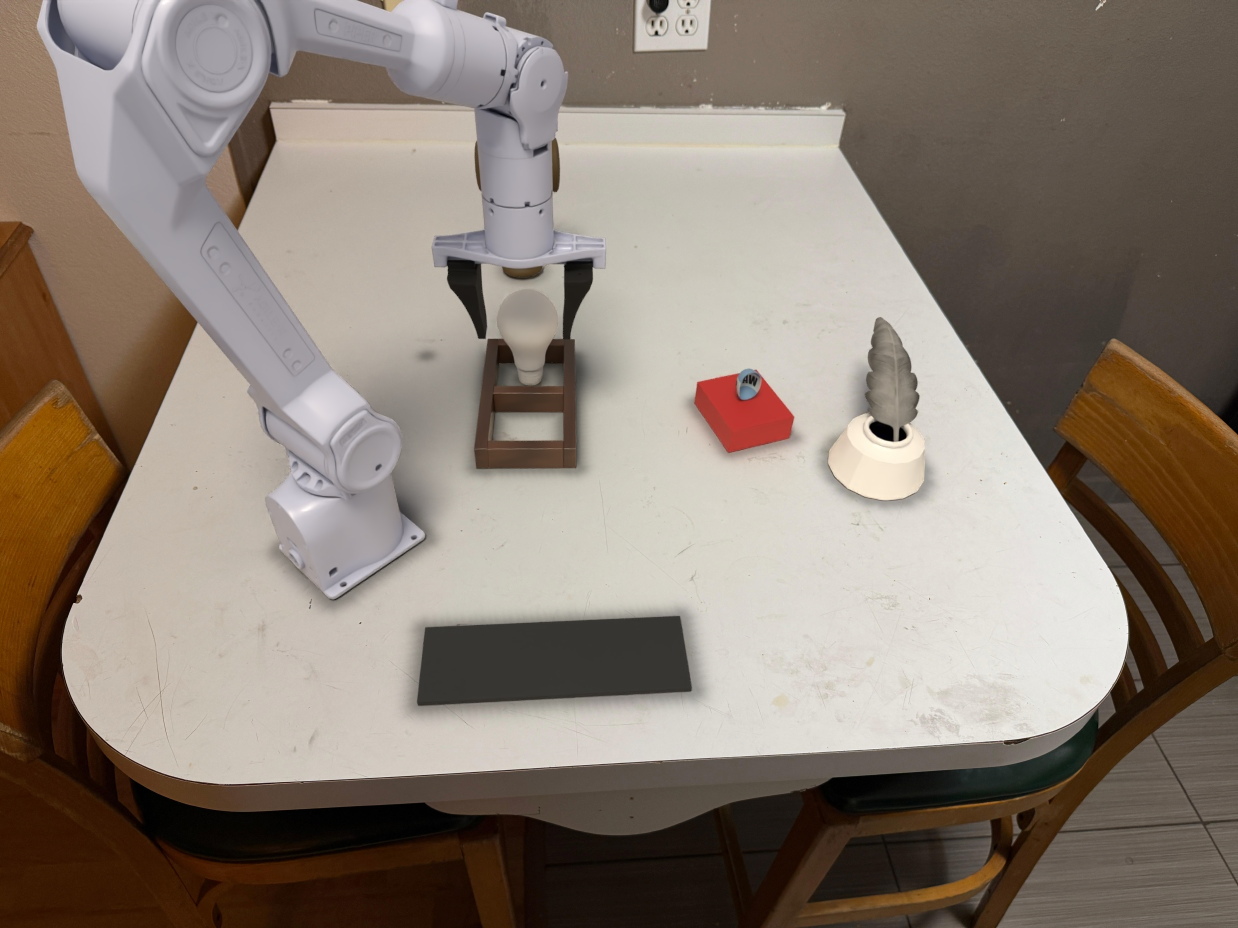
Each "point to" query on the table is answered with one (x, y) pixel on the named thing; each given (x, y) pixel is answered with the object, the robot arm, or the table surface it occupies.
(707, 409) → the red slab
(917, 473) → the inkwell
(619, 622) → the mat
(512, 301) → the lightbulb
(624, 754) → the table surface
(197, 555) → the table surface
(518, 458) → the holder
